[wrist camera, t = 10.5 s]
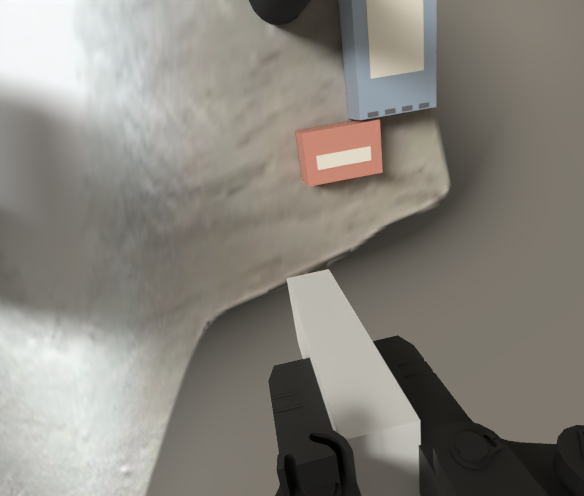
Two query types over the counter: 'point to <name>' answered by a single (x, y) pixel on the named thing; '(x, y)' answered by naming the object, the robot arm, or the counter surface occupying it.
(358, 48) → the blue labeled box
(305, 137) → the red box
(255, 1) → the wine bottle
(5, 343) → the counter surface
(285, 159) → the counter surface
